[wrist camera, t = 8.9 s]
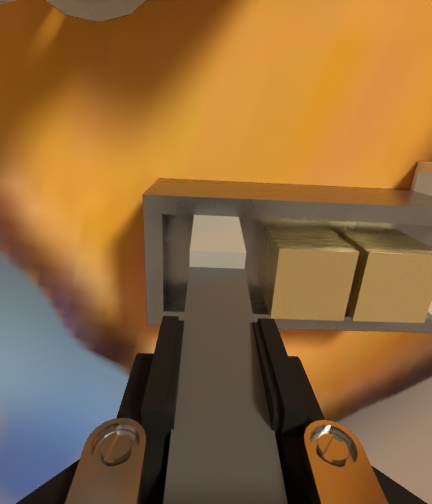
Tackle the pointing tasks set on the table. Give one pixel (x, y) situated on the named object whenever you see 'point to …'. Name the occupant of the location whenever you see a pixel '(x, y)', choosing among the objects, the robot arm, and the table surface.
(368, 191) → the slot block
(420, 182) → the tray
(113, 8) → the french press
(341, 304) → the tan cube
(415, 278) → the wooden cube
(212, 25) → the table surface
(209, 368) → the grey rectangular bar
